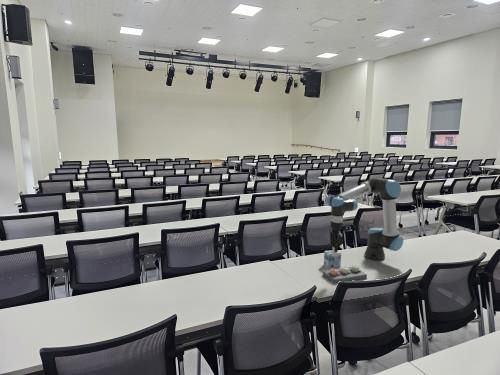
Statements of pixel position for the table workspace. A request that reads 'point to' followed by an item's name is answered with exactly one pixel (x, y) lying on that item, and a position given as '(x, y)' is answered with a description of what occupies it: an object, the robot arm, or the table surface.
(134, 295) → the table surface
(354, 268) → the button one
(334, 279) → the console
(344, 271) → the button two
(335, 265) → the light bulb box
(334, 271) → the button three
